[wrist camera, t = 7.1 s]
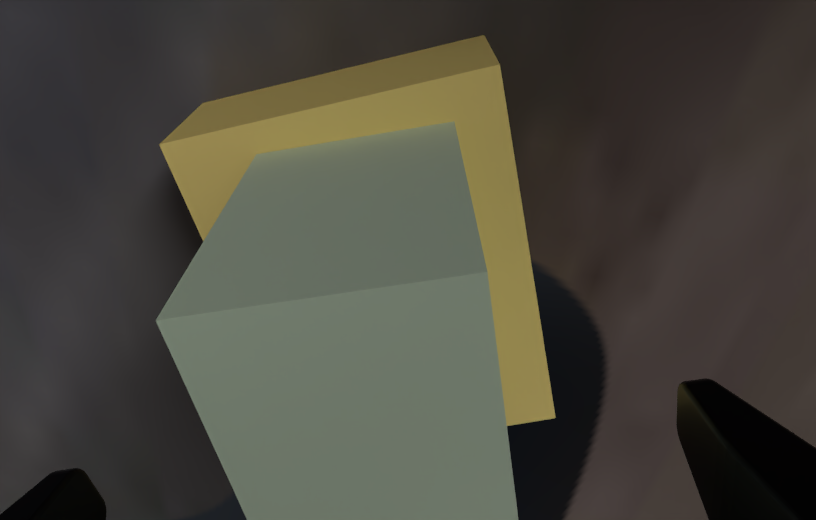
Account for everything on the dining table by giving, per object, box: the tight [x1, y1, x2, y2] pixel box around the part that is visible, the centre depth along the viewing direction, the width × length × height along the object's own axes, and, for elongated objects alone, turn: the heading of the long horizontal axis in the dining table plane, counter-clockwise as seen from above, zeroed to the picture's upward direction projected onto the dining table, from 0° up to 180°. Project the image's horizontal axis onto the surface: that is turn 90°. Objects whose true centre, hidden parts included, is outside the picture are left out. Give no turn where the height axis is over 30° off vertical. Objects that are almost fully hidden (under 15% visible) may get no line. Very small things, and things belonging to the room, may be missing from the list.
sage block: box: [156, 122, 518, 520], centre depth 10 cm, size 4×7×5 cm, turn 10°
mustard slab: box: [159, 35, 556, 426], centre depth 14 cm, size 6×8×3 cm
